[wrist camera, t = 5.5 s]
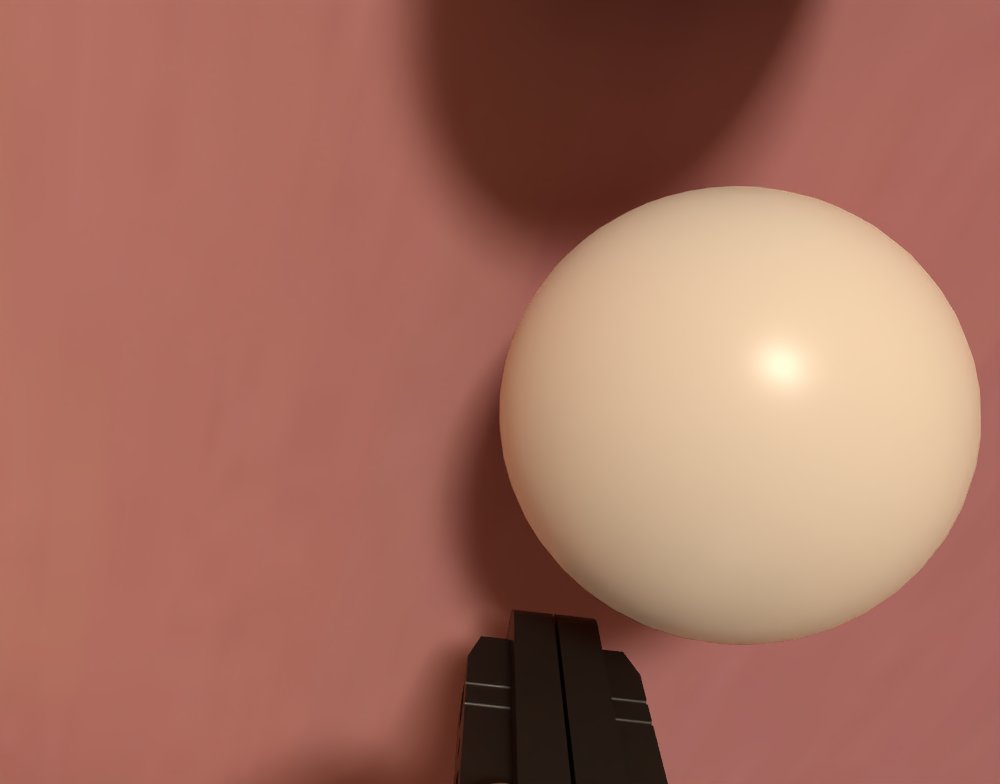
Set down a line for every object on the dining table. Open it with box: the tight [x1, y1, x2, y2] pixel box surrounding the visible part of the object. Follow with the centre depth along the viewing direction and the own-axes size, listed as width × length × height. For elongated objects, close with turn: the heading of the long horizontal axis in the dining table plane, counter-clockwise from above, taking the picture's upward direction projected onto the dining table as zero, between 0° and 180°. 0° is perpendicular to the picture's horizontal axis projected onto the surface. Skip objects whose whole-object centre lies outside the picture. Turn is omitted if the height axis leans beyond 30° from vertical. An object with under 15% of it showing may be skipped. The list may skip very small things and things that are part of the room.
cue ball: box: [499, 186, 981, 645], centre depth 10 cm, size 6×6×6 cm
